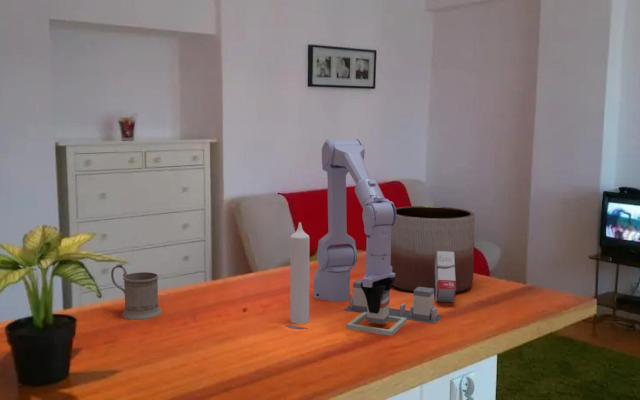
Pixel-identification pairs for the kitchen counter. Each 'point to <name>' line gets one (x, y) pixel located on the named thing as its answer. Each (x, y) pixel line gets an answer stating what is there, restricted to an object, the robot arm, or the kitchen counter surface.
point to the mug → (139, 294)
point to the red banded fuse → (380, 310)
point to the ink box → (445, 276)
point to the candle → (299, 278)
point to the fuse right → (423, 303)
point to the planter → (431, 245)
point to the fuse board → (402, 313)
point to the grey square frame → (390, 332)
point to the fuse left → (359, 297)
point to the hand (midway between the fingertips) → (377, 310)
